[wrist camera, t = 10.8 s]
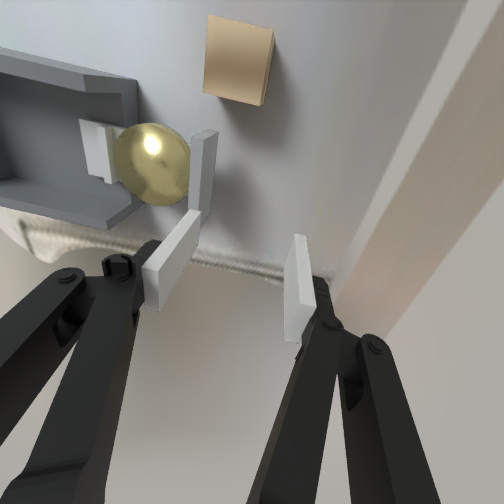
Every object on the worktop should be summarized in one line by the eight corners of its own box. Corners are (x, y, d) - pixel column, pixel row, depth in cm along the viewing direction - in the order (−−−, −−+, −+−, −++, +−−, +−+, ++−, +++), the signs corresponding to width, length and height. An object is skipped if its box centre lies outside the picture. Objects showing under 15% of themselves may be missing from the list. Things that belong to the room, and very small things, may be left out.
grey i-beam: (80, 98, 24) (32, 99, 19) (218, 131, 24) (203, 140, 19) (95, 186, 29) (60, 203, 24) (210, 213, 29) (196, 234, 24)
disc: (198, 132, 24) (193, 135, 22) (193, 207, 28) (189, 213, 27) (118, 113, 23) (108, 114, 22) (126, 191, 28) (118, 196, 26)
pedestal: (222, 29, 22) (208, 14, 18) (275, 42, 22) (273, 29, 18) (216, 93, 25) (202, 92, 21) (263, 104, 25) (259, 106, 21)
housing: (-16, 43, 25) (-125, 24, 18) (136, 79, 25) (82, 73, 18) (28, 176, 33) (-38, 197, 26) (143, 203, 33) (107, 230, 26)
